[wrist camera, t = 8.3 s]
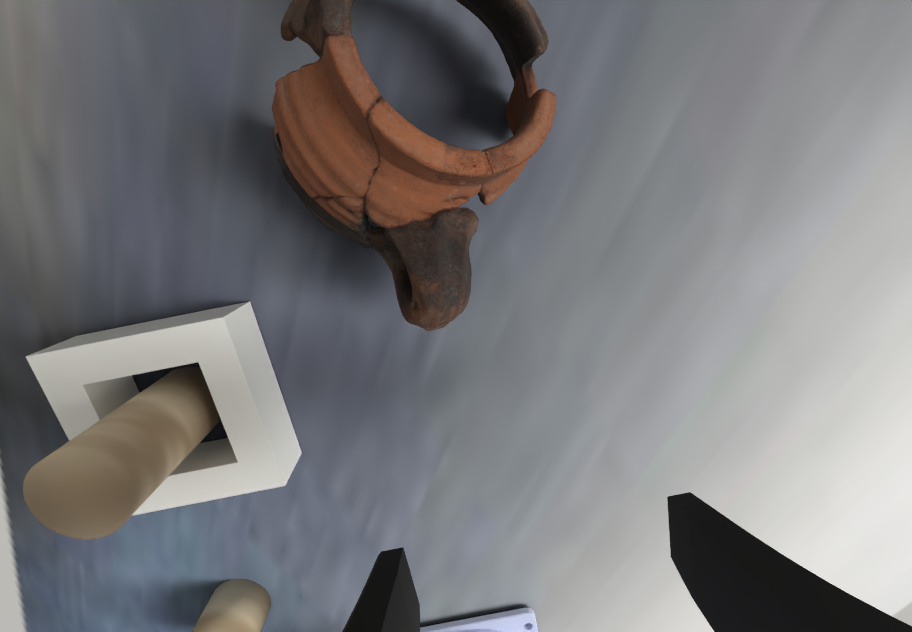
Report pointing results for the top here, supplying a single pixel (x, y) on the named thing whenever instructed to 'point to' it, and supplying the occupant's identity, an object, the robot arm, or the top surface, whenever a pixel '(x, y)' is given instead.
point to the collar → (228, 378)
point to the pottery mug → (401, 153)
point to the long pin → (121, 457)
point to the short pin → (235, 608)
